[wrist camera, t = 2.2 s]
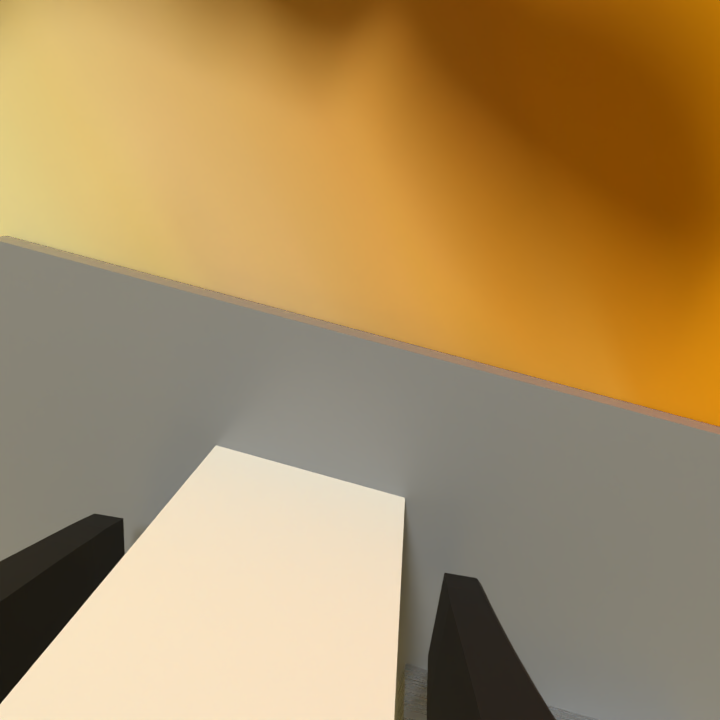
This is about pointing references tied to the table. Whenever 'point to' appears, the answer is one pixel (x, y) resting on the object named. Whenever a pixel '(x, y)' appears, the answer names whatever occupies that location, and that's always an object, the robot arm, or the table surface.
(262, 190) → the table surface
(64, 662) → the block
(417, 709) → the end holder
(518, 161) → the table surface
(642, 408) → the board
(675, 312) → the table surface
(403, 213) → the table surface
